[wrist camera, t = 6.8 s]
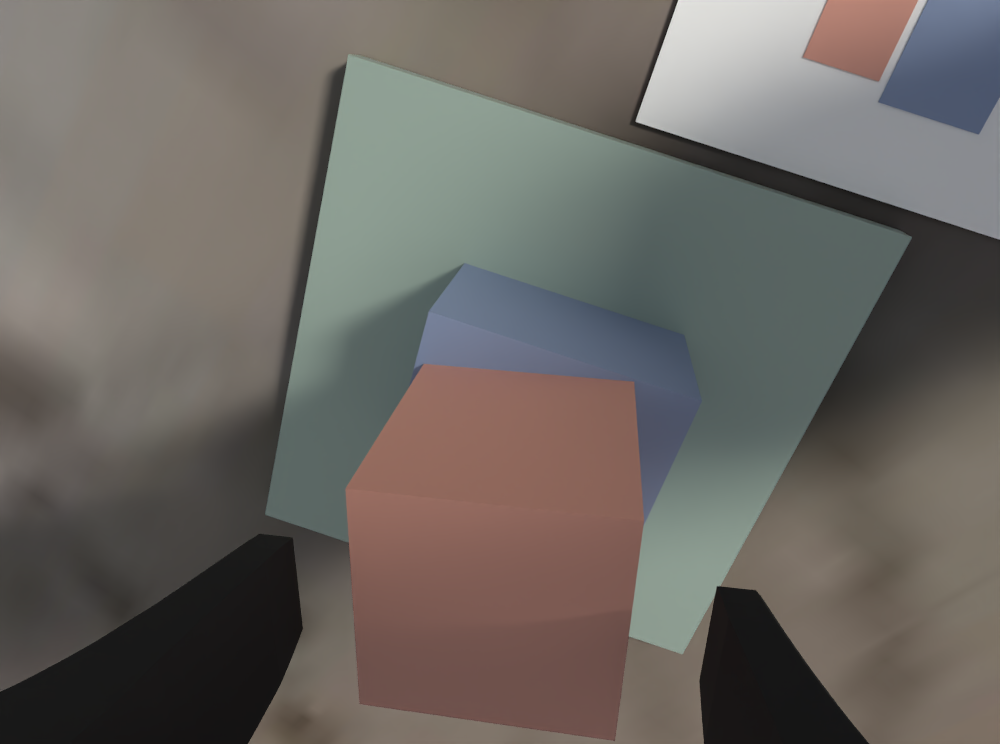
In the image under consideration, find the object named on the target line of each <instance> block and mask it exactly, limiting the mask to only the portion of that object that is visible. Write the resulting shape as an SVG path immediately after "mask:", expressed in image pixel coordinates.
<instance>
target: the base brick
mask: <svg viewBox="0 0 1000 744" xmlns="http://www.w3.org/2000/svg"><path fill="white" fill-rule="evenodd" d="M423 364H432V365H444V366H456V367H468V368H479V369H491V370H503V371H515V372H527V373H538V374H550V375H562V376H574V377H585V378H597V379H609V380H621V381H633V382H634V386H635V400H636V414H637V428H638V442H639V456H640V470H641V484H642V498H643V512H644V524H645V522H646V520H647V518H648V516H649V513H650V511H651V509H652V507H653V505H654V503H655V501H656V498H657V496H658V494H659V492H660V490H661V488H662V486H663V484H664V481H665V479H666V477H667V475H668V473H669V471H670V469H671V466H672V464H673V462H674V460H675V458H676V456H677V454H678V451H679V449H680V447H681V445H682V443H683V441H684V439H685V437H686V434H687V432H688V430H689V428H690V426H691V424H692V422H693V419H694V417H695V415H696V413H697V411H698V409H699V407H700V404H701V402H702V399H701V395H700V392H699V388H698V384H697V380H696V377H695V373H694V369H693V366H692V362H691V358H690V354H689V351H688V347H687V343H686V340H685V336H684V335H683V334H680V333H677V332H674V331H671V330H668V329H664V328H661V327H658V326H655V325H652V324H649V323H646V322H643V321H640V320H637V319H634V318H631V317H628V316H625V315H622V314H619V313H616V312H613V311H610V310H606V309H603V308H600V307H597V306H594V305H591V304H588V303H585V302H582V301H579V300H576V299H573V298H570V297H567V296H564V295H561V294H558V293H555V292H552V291H548V290H545V289H542V288H539V287H536V286H533V285H530V284H527V283H524V282H521V281H518V280H515V279H512V278H509V277H506V276H503V275H500V274H497V273H493V272H490V271H487V270H484V269H481V268H478V267H475V266H472V265H469V264H466V263H464V265H463V266H462V267H461V269H460V270H459V271H458V273H457V274H456V275H455V277H454V278H453V279H452V281H451V282H450V283H449V285H448V286H447V288H446V289H445V290H444V292H443V293H442V294H441V296H440V297H439V298H438V300H437V301H436V302H435V304H434V305H433V306H432V308H431V309H430V310H429V313H428V316H427V320H426V324H425V328H424V332H423V335H422V339H421V343H420V347H419V351H418V354H417V358H416V362H415V366H414V369H413V373H412V377H411V381H410V385H411V383H412V382H413V380H414V379H415V377H416V375H417V374H418V372H419V371H420V369H421V367H422V366H423ZM410 385H409V387H410Z"/></svg>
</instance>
